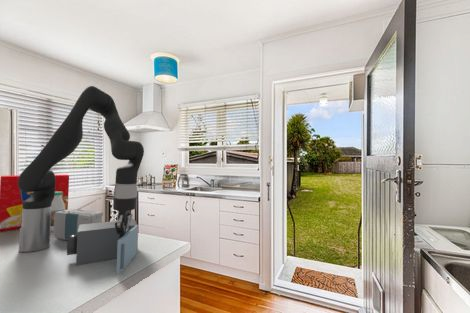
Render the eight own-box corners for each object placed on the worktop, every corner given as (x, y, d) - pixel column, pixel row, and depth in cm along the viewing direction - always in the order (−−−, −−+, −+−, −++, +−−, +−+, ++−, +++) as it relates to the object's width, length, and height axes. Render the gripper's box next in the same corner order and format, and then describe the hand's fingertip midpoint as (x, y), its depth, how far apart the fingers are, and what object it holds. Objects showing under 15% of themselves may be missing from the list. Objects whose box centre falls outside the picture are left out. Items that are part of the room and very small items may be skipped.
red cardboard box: (-3, 232, 112) (0, 176, 113) (-1, 228, 118) (1, 175, 119) (67, 223, 132) (69, 175, 132) (65, 220, 137) (67, 174, 138)
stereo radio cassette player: (52, 240, 104) (54, 197, 104) (69, 234, 112) (70, 194, 112) (88, 245, 99) (90, 200, 100) (103, 239, 107) (105, 197, 108)
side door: (122, 274, 73) (123, 240, 73) (115, 274, 73) (116, 240, 73) (139, 252, 90) (140, 225, 91) (134, 252, 90) (135, 225, 90)
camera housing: (65, 267, 79) (67, 230, 79) (69, 256, 87) (70, 223, 88) (136, 254, 91) (137, 222, 91) (133, 246, 99) (134, 216, 100)
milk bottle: (48, 228, 121) (50, 191, 121) (66, 226, 124) (67, 190, 125) (43, 232, 114) (45, 193, 114) (62, 230, 117) (64, 192, 118)
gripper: (131, 199, 75) (128, 251, 75) (140, 193, 88) (138, 237, 88) (107, 199, 74) (104, 251, 73) (120, 192, 87) (117, 237, 86)
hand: (122, 243), depth 81 cm, fingers closed
